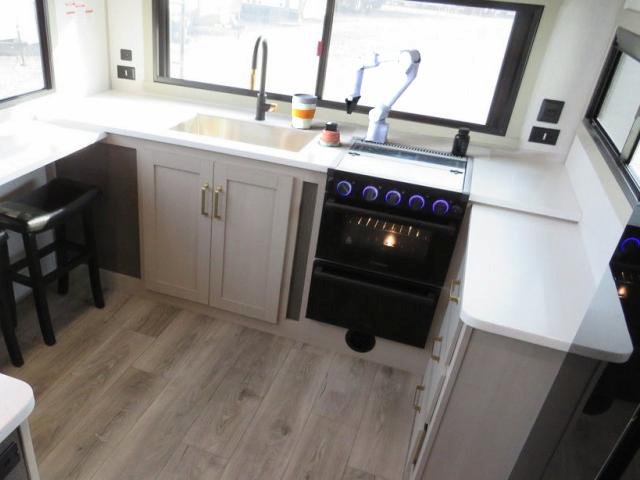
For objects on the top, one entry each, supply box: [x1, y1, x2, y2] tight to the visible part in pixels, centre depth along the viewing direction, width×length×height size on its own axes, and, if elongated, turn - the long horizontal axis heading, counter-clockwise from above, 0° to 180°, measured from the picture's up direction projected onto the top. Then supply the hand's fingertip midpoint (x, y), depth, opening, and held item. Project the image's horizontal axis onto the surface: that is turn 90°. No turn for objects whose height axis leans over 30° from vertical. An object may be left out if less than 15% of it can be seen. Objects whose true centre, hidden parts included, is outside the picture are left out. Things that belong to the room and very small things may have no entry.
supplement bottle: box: [450, 127, 471, 157], centre depth 267 cm, size 7×7×12 cm
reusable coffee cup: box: [291, 93, 318, 130], centre depth 291 cm, size 12×13×15 cm
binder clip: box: [324, 121, 339, 132], centre depth 269 cm, size 5×3×3 cm, turn 68°
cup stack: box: [319, 127, 341, 148], centre depth 272 cm, size 9×9×6 cm
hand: (350, 112), depth 284 cm, fingers open, 7 cm apart
